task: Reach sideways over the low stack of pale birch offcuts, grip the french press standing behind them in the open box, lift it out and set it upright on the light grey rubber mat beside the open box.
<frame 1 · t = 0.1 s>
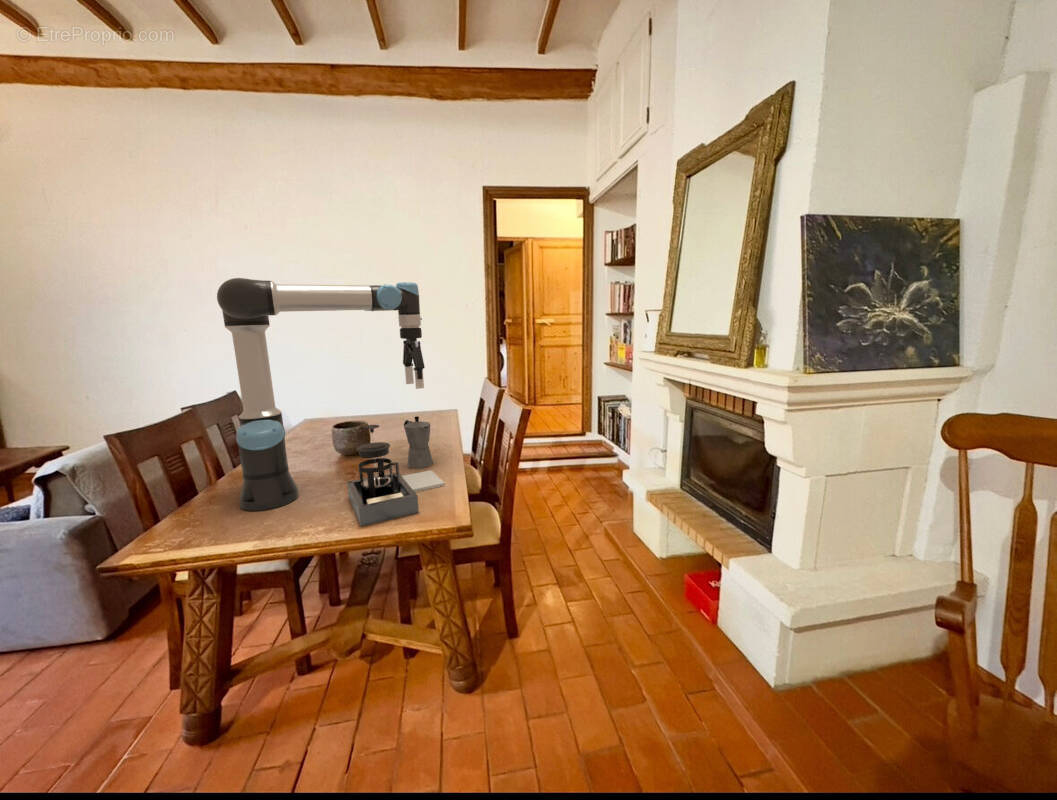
hand: (414, 386, 161), 28 cm above the table, tool pointing down, fingers open, 13 cm apart
mat: (421, 482, 142), on the table
french press: (380, 503, 127), resting in open box
offcut stack: (387, 514, 119), resting in open box
open box: (380, 502, 127), on the table
coffeepot: (418, 464, 161), on the table
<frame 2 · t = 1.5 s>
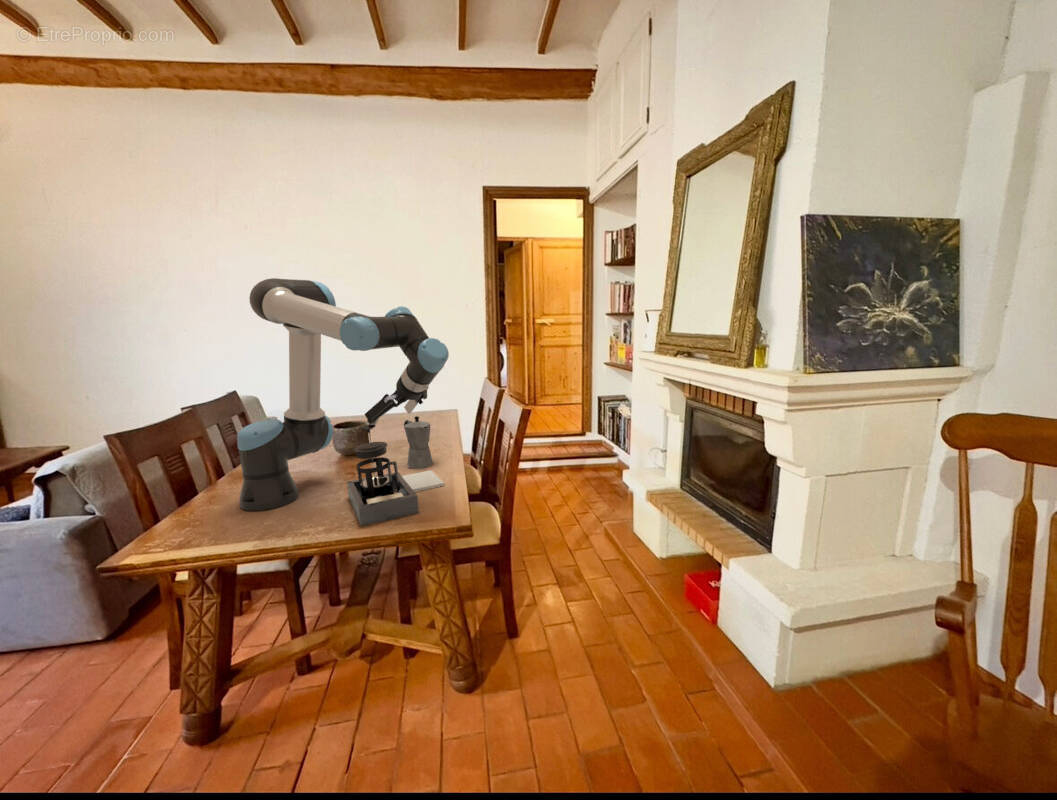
hand: (388, 417, 133), 23 cm above the table, tool tilted 55°, fingers open, 13 cm apart
french press: (380, 502, 127), resting in open box, touching gripper
everything else where it was.
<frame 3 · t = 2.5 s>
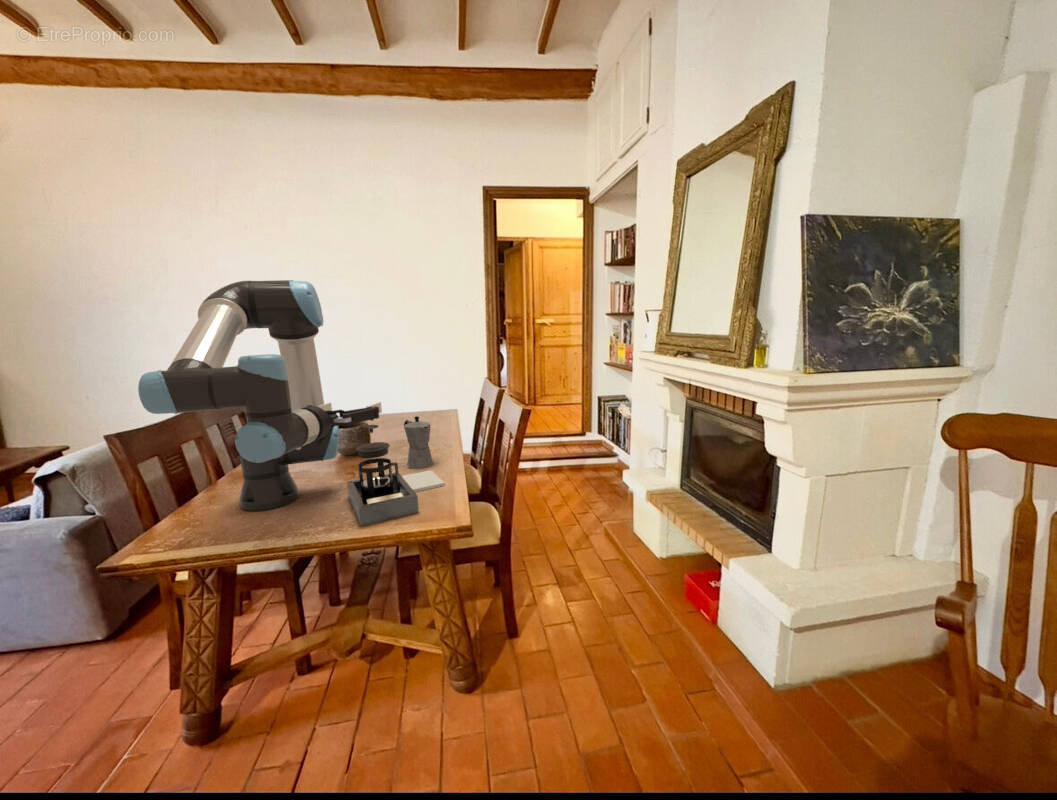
hand: (355, 407, 114), 30 cm above the table, tool horizontal, fingers open, 13 cm apart
french press: (380, 503, 128), resting in open box
everything else where it was.
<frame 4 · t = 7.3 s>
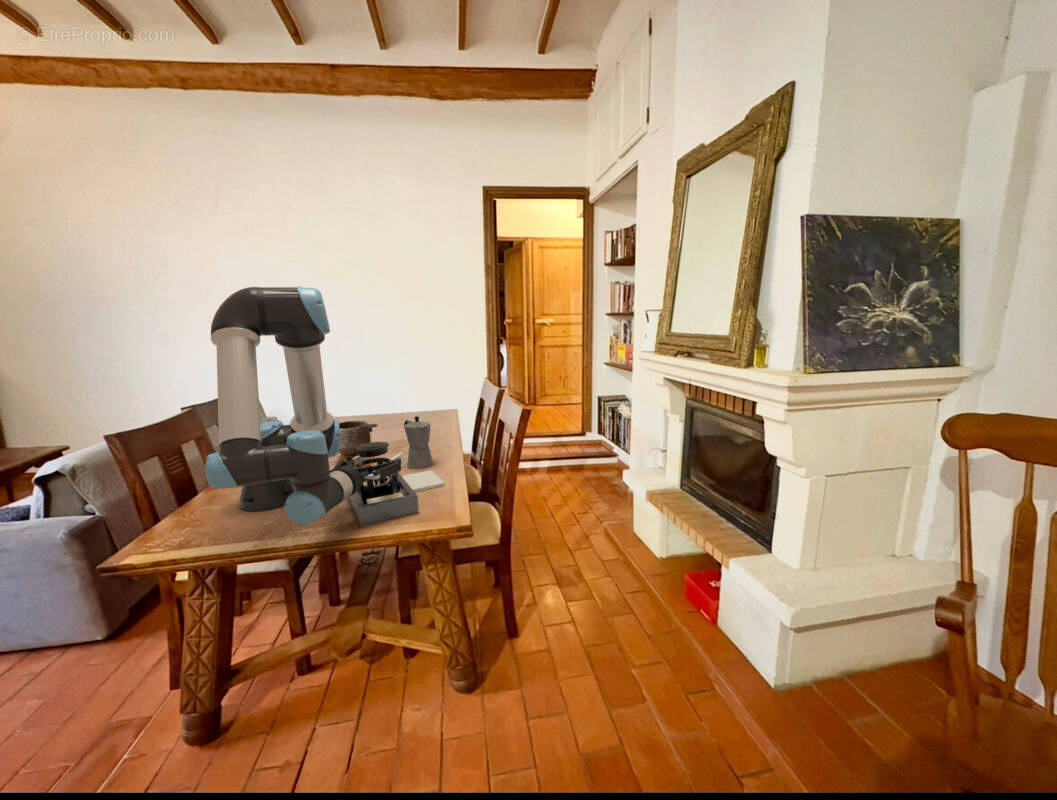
hand: (384, 456, 129), 13 cm above the table, tool horizontal, fingers closed on french press, 11 cm apart
french press: (380, 502, 127), resting in open box, touching gripper
everything else where it was.
when the fingers open (15 cm above the table, at t = 14.1 s): french press drops 1 cm, resting on mat.
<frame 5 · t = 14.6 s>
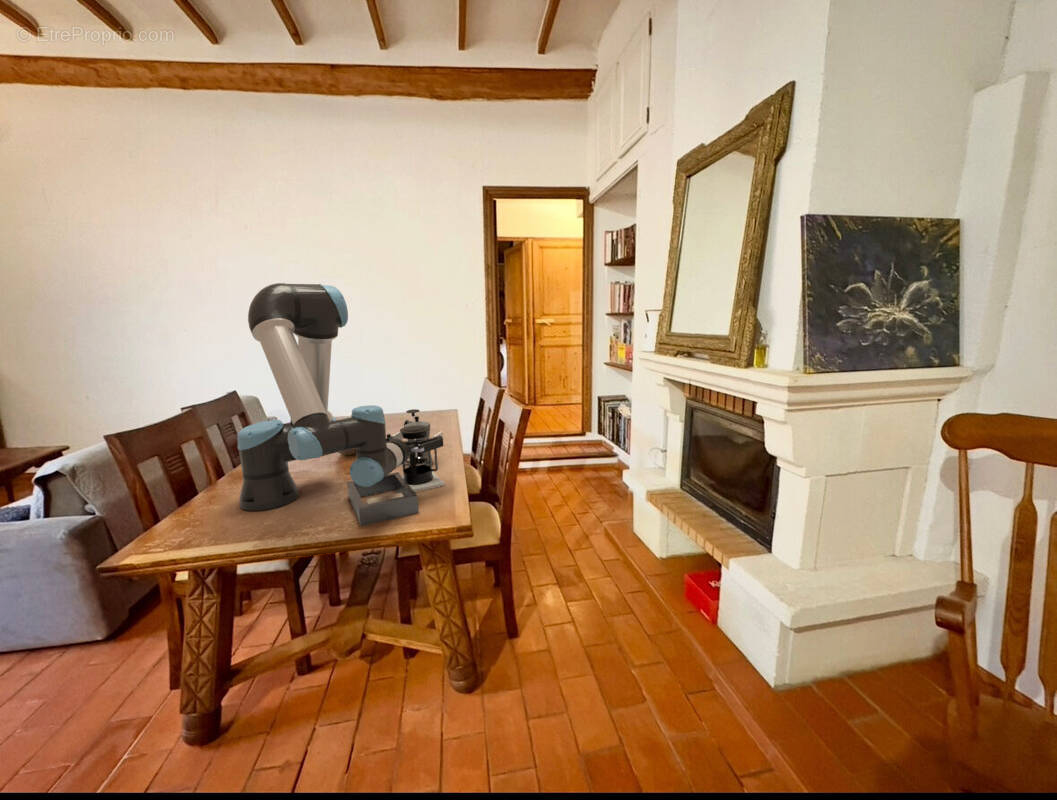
hand: (421, 434, 143), 15 cm above the table, tool horizontal, fingers open, 13 cm apart
french press: (419, 480, 142), point 1 cm above the table, touching mat
everything else where it was.
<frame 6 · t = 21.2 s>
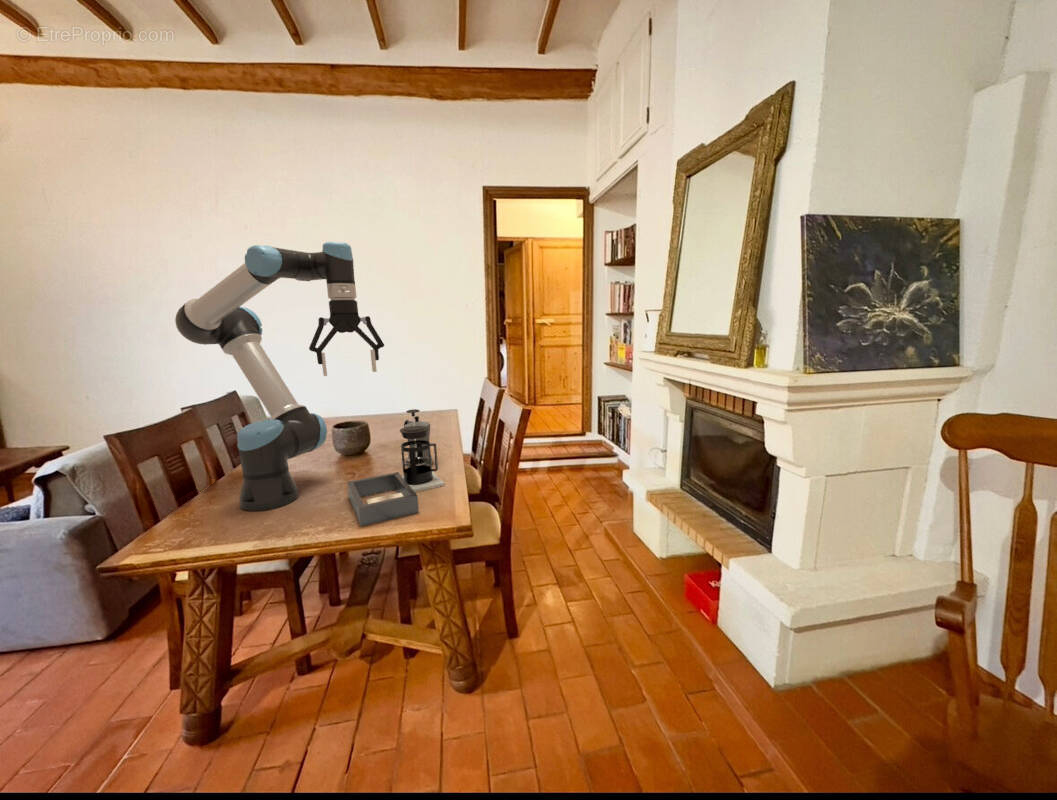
hand: (350, 373, 130), 37 cm above the table, tool pointing down, fingers open, 13 cm apart
nothing on the table moved.
at the end: french press inside the target area on the mat (0.4 cm from its centre), point 0.8 cm above the mat's base; french press tilted 0°; the gripper is holding nothing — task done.
